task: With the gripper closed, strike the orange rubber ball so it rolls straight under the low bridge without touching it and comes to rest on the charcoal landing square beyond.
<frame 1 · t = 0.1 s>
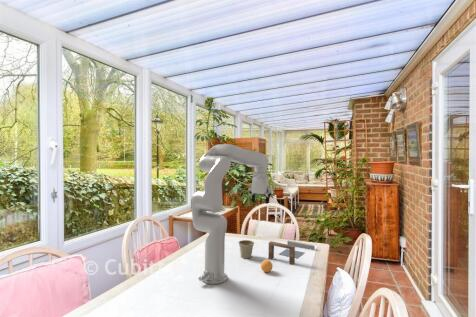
hand: (260, 202, 174), 31 cm above the table, tool pointing down, fingers open, 9 cm apart
ball: (266, 266, 146), on the table
flower pot: (246, 257, 167), on the table
stopper: (300, 247, 186), on the table
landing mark: (291, 253, 174), on the table
bridge: (281, 261, 161), on the table
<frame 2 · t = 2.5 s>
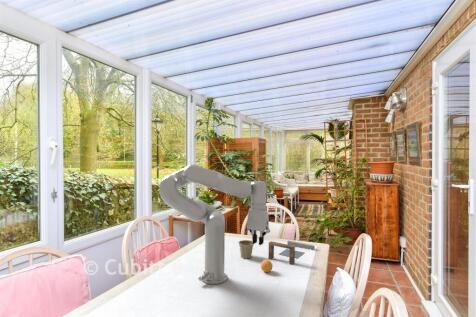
hand: (257, 243, 138), 17 cm above the table, tool pointing down, fingers closed
nothing on the table moved.
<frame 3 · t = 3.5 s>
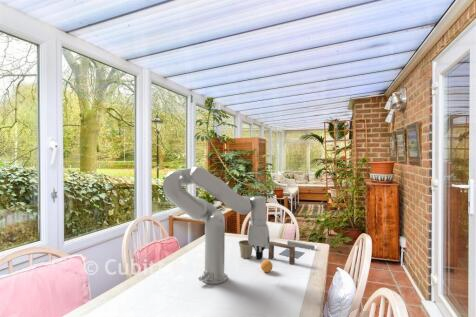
hand: (259, 258, 138), 10 cm above the table, tool pointing down, fingers closed
nothing on the table moved.
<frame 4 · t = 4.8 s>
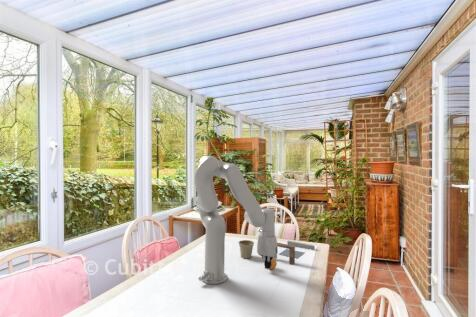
hand: (267, 267, 146), 2 cm above the table, tool pointing down, fingers closed
ball: (271, 263, 150), on the table
everything else where it was.
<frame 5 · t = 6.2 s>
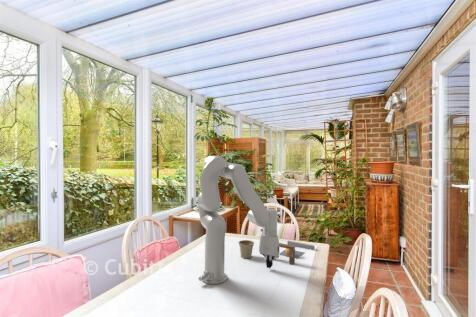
hand: (269, 267, 149), 2 cm above the table, tool pointing down, fingers closed
ball: (290, 250, 170), on the table
everything else where it was.
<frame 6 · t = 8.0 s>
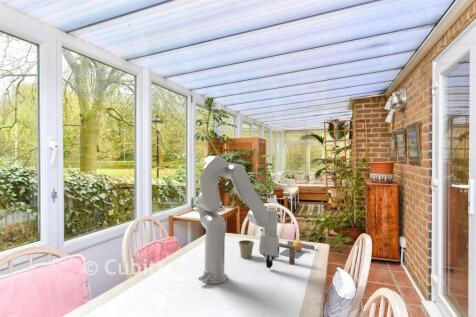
hand: (269, 267, 149), 2 cm above the table, tool pointing down, fingers closed
ball: (297, 246, 179), on the table
everything else where it was.
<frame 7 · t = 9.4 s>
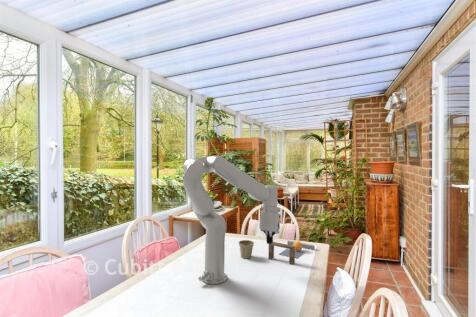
hand: (269, 243, 149), 14 cm above the table, tool pointing down, fingers closed
nothing on the table moved.
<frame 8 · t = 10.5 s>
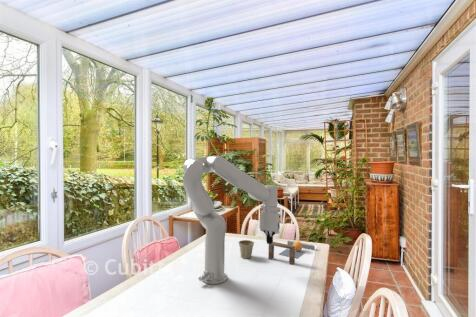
hand: (269, 243, 149), 14 cm above the table, tool pointing down, fingers closed
nothing on the table moved.
at the end: ball 6.9 cm from the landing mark (horizontally); ball never touched bridge; ball at rest at the end (0.0 cm/s) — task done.
